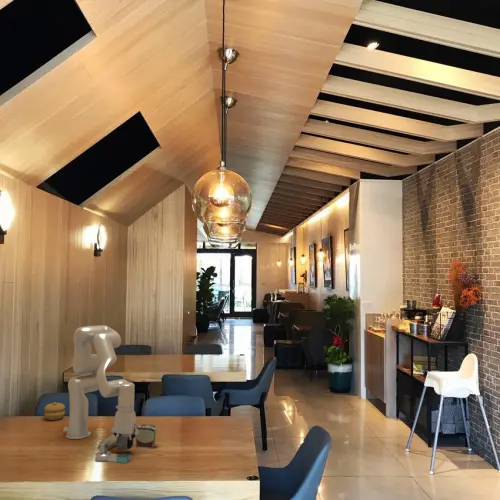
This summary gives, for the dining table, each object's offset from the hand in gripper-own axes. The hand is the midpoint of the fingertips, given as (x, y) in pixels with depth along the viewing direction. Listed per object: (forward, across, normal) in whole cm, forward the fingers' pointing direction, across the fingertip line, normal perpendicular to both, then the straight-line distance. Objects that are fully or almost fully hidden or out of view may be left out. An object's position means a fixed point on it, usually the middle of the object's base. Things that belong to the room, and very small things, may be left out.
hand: (124, 446), depth 243 cm
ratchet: (+3, 0, -10) cm, 11 cm away
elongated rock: (+4, -13, +18) cm, 22 cm away
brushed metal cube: (+1, 0, 0) cm, 1 cm away
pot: (+6, -71, +43) cm, 83 cm away
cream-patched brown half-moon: (+3, +6, +13) cm, 14 cm away
